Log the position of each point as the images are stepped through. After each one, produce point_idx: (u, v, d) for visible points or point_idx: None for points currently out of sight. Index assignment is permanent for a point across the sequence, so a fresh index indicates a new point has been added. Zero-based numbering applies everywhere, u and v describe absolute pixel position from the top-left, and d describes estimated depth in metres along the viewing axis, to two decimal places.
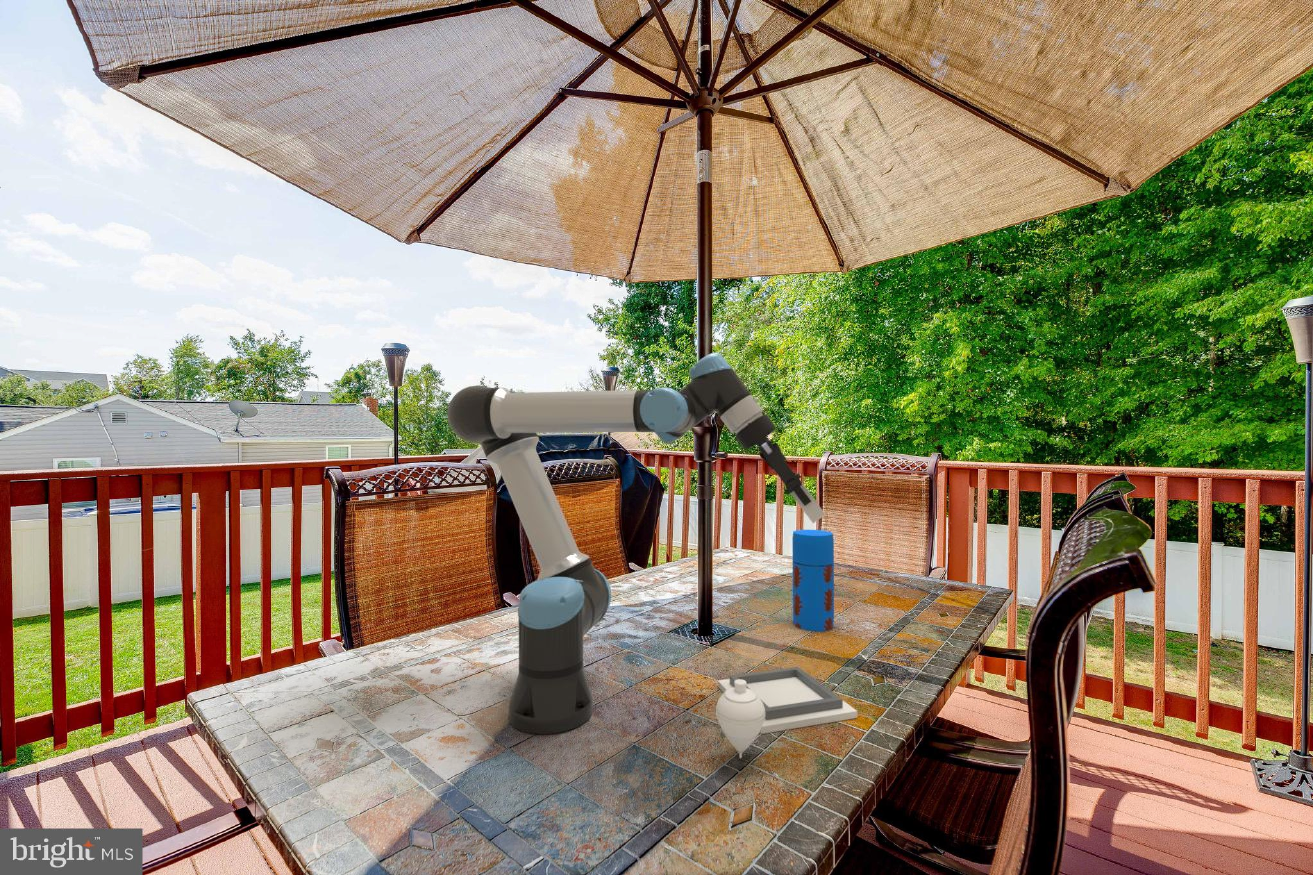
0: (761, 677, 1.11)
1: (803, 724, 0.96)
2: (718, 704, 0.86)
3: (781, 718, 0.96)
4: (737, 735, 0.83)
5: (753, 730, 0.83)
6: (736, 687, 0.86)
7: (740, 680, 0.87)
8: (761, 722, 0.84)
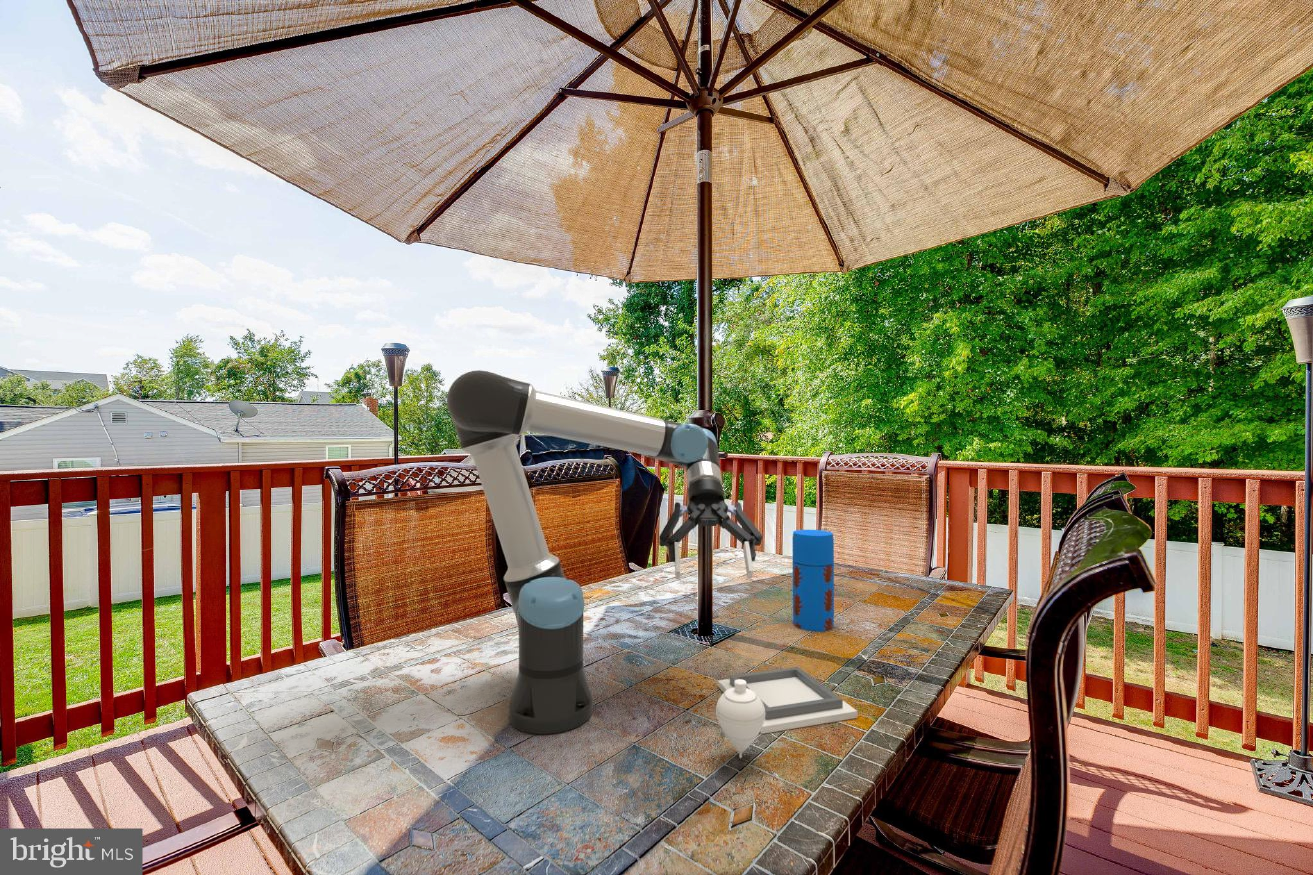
0: (761, 677, 1.11)
1: (803, 724, 0.96)
2: (718, 704, 0.86)
3: (781, 718, 0.96)
4: (737, 735, 0.83)
5: (753, 730, 0.83)
6: (736, 687, 0.86)
7: (740, 680, 0.87)
8: (761, 722, 0.84)
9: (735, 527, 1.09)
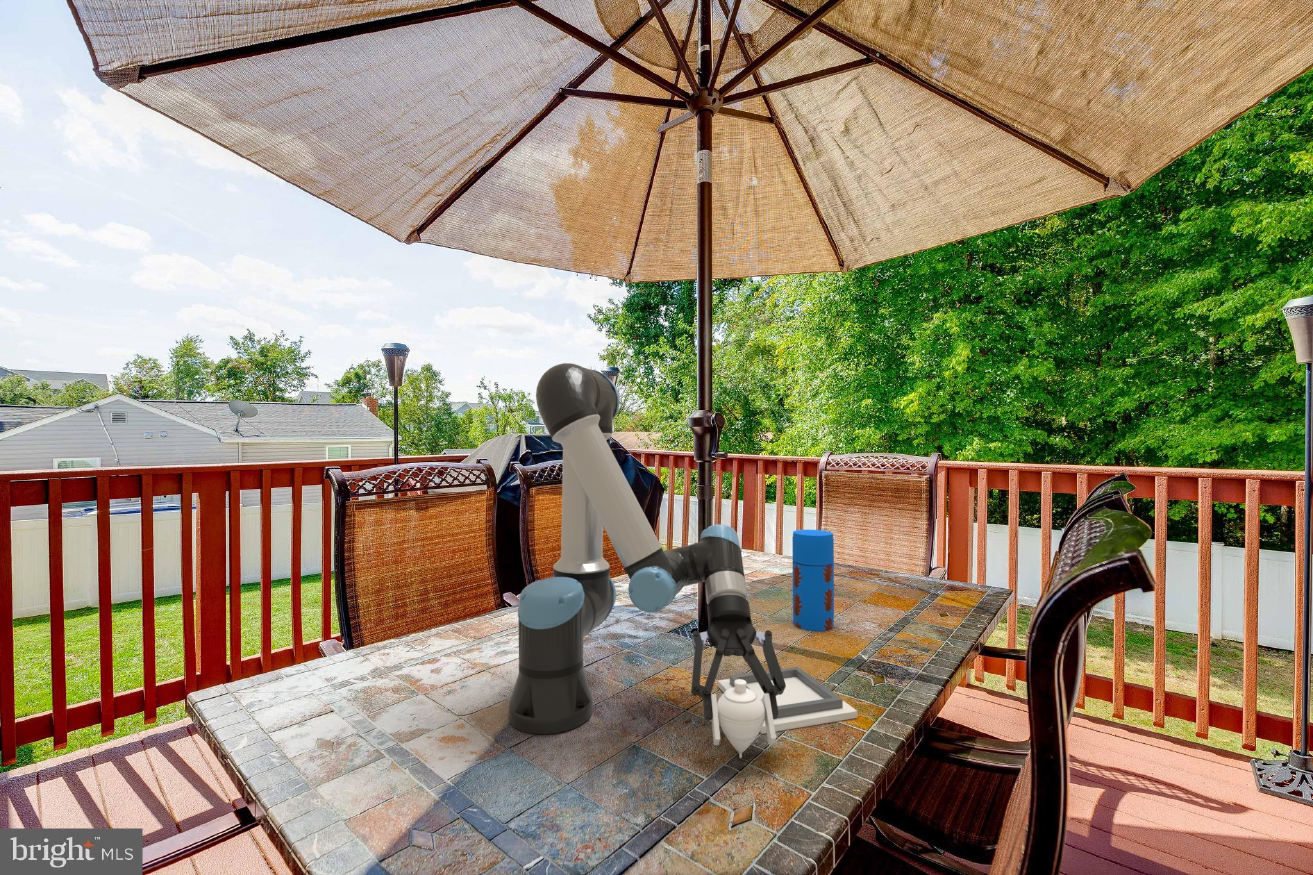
0: None
1: (803, 724, 0.96)
2: (718, 704, 0.86)
3: (781, 718, 0.96)
4: (737, 735, 0.83)
5: (753, 730, 0.83)
6: (736, 687, 0.86)
7: (740, 680, 0.87)
8: (761, 722, 0.84)
9: (757, 667, 0.90)
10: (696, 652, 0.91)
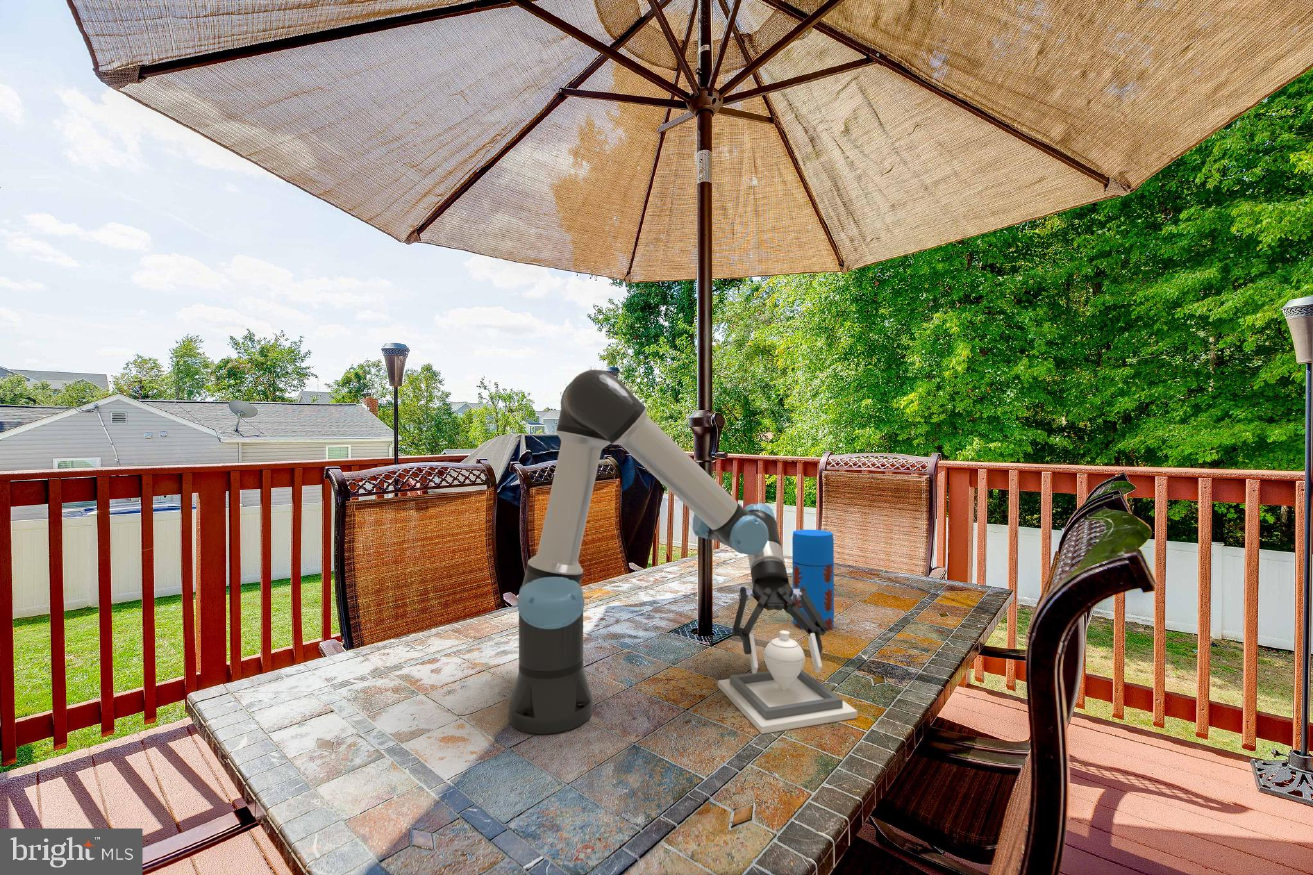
0: (761, 677, 1.11)
1: (803, 724, 0.96)
2: (766, 650, 1.05)
3: (781, 718, 0.96)
4: (783, 674, 1.02)
5: (796, 669, 1.02)
6: (781, 636, 1.05)
7: (784, 631, 1.06)
8: (802, 663, 1.03)
9: (801, 615, 1.09)
10: (740, 603, 1.11)
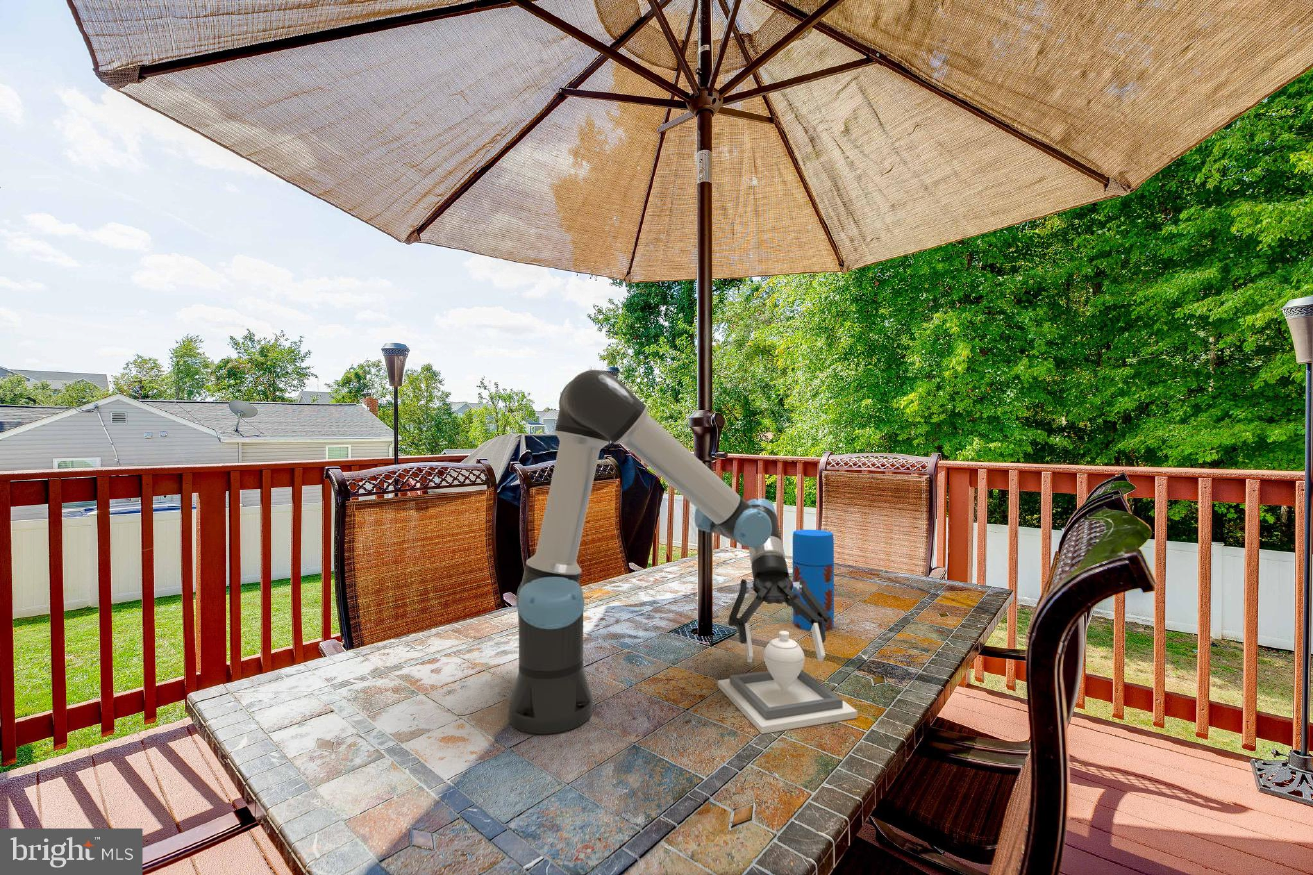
0: (761, 677, 1.11)
1: (803, 724, 0.96)
2: (766, 650, 1.05)
3: (781, 718, 0.96)
4: (782, 674, 1.02)
5: (795, 670, 1.02)
6: (781, 636, 1.05)
7: (784, 631, 1.05)
8: (801, 664, 1.03)
9: (803, 607, 1.11)
10: (739, 594, 1.12)
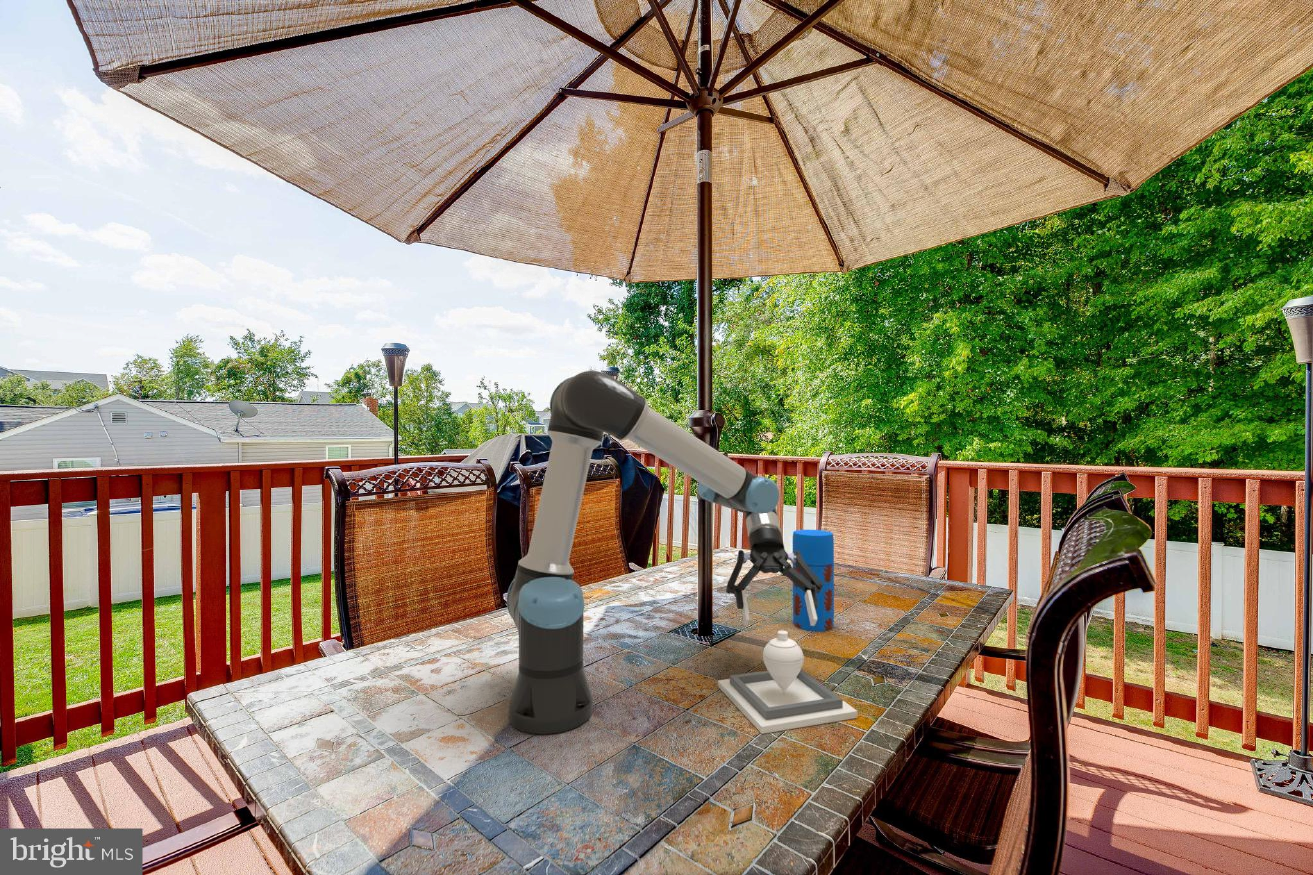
0: (761, 677, 1.11)
1: (803, 724, 0.96)
2: (765, 650, 1.05)
3: (781, 718, 0.96)
4: (782, 674, 1.02)
5: (795, 669, 1.02)
6: (779, 636, 1.05)
7: (782, 631, 1.06)
8: (801, 663, 1.03)
9: (797, 575, 1.17)
10: (737, 564, 1.19)
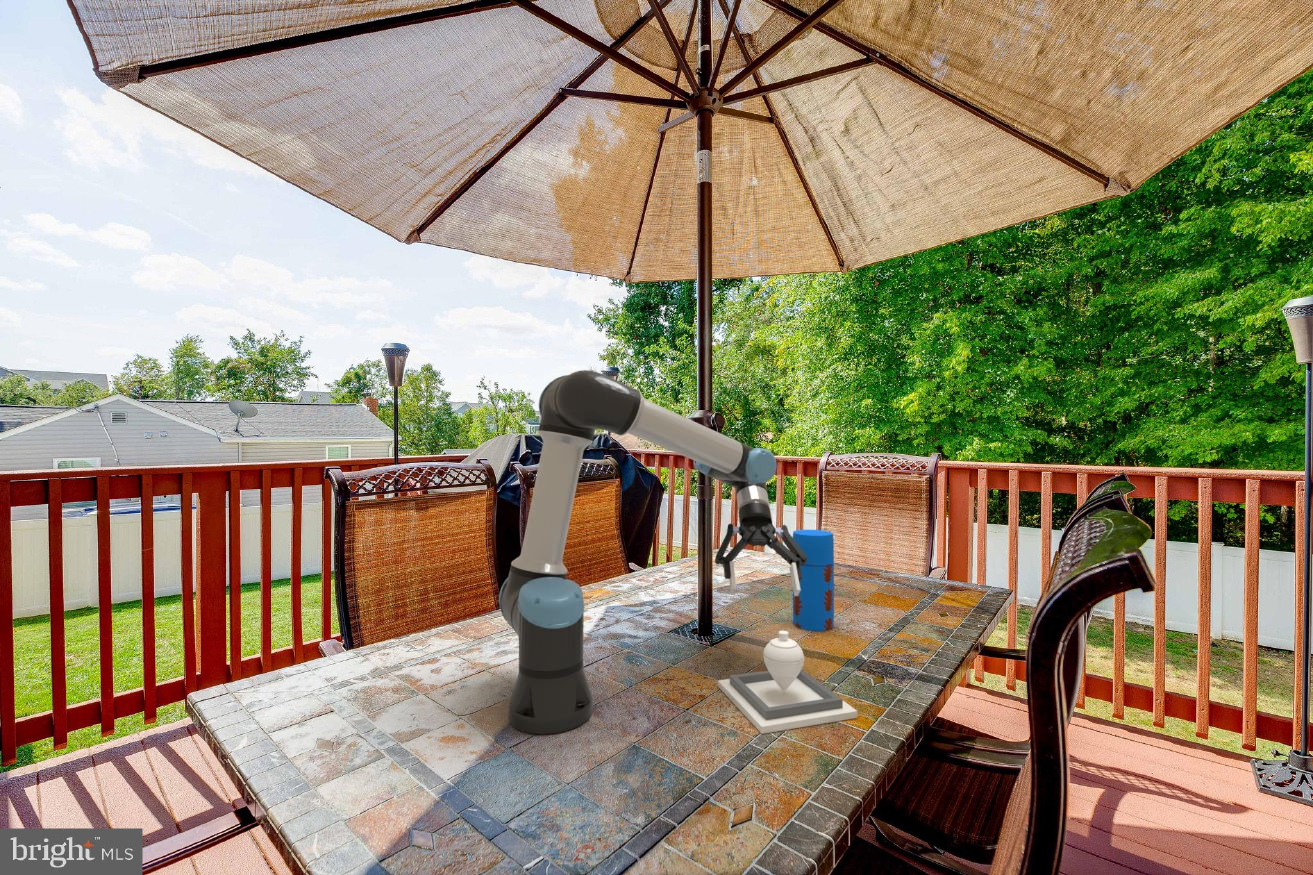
0: (761, 677, 1.11)
1: (803, 724, 0.96)
2: (765, 650, 1.05)
3: (781, 718, 0.96)
4: (782, 674, 1.02)
5: (795, 670, 1.02)
6: (780, 636, 1.05)
7: (783, 631, 1.06)
8: (801, 663, 1.03)
9: (783, 549, 1.22)
10: (726, 536, 1.24)
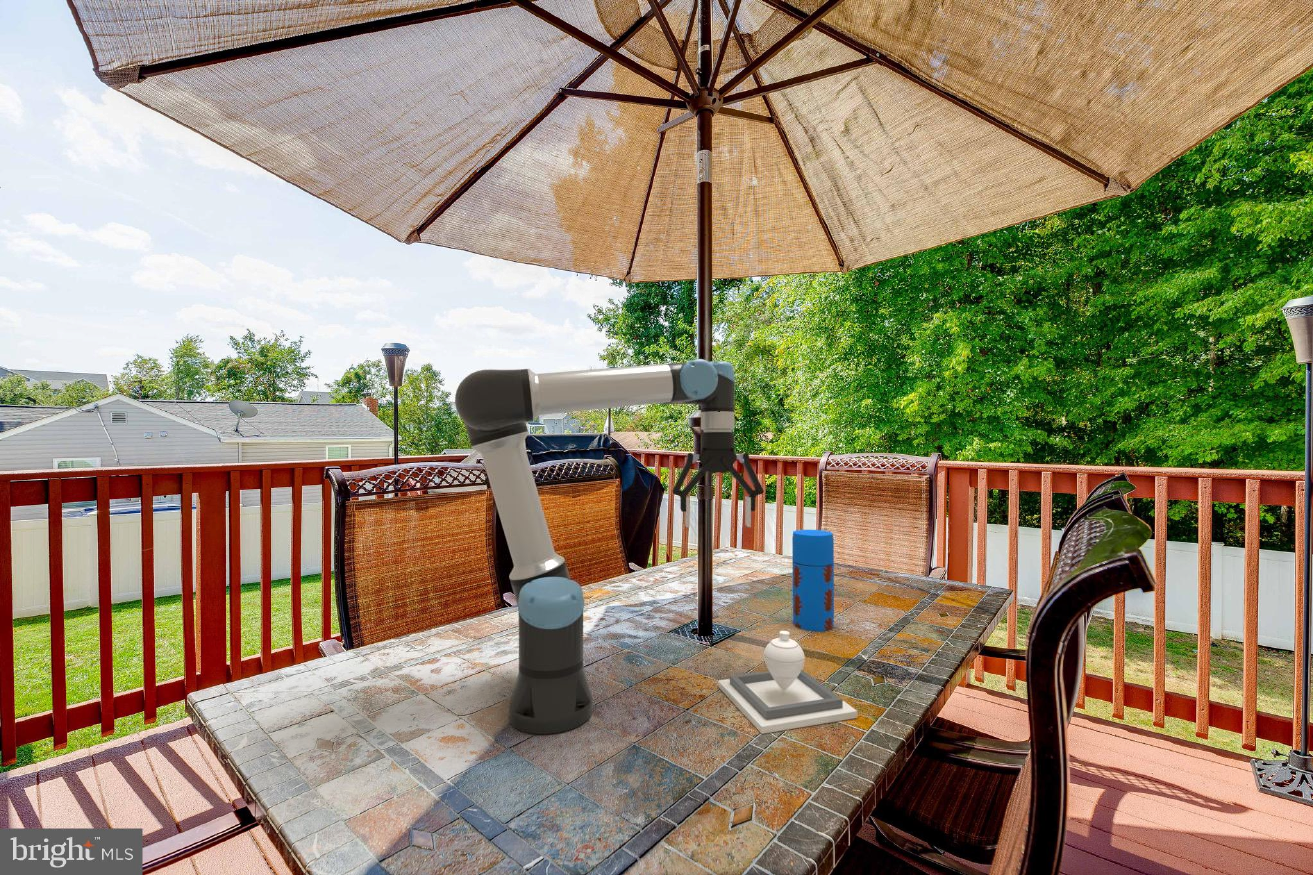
0: (761, 677, 1.11)
1: (803, 724, 0.96)
2: (766, 650, 1.05)
3: (781, 718, 0.96)
4: (783, 674, 1.02)
5: (796, 670, 1.02)
6: (781, 636, 1.05)
7: (784, 631, 1.06)
8: (802, 664, 1.03)
9: (741, 481, 1.22)
10: (685, 469, 1.22)
